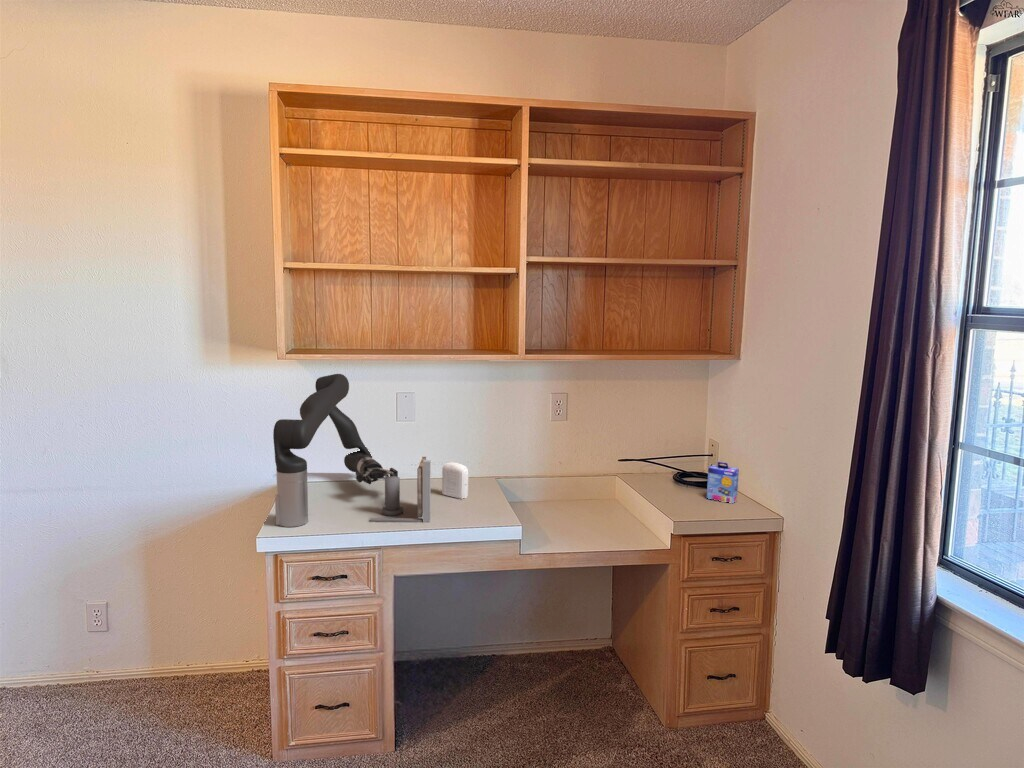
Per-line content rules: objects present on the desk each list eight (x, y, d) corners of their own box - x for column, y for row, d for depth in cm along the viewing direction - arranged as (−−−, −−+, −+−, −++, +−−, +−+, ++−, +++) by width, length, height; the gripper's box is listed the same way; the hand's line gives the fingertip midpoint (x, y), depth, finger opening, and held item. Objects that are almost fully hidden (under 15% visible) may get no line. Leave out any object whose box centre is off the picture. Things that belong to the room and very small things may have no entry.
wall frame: (369, 522, 224) (368, 461, 222) (370, 519, 227) (370, 459, 224) (429, 522, 225) (429, 461, 222) (430, 520, 227) (430, 460, 225)
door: (422, 501, 241) (422, 456, 239) (430, 502, 242) (430, 456, 239) (417, 517, 225) (417, 469, 223) (426, 517, 225) (426, 469, 223)
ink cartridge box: (705, 499, 255) (707, 460, 253) (710, 496, 260) (712, 458, 258) (732, 504, 250) (735, 465, 248) (737, 500, 254) (739, 462, 252)
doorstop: (380, 516, 230) (380, 481, 229) (383, 509, 237) (383, 475, 235) (401, 516, 230) (401, 481, 229) (404, 509, 237) (404, 475, 236)
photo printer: (469, 497, 253) (470, 463, 251) (462, 500, 250) (462, 466, 248) (447, 492, 259) (447, 459, 257) (440, 495, 255) (440, 461, 254)
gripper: (350, 460, 253) (362, 471, 239) (388, 457, 259) (402, 467, 245) (350, 481, 254) (362, 493, 240) (388, 477, 260) (402, 488, 246)
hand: (382, 480), depth 242 cm, fingers open, 8 cm apart
